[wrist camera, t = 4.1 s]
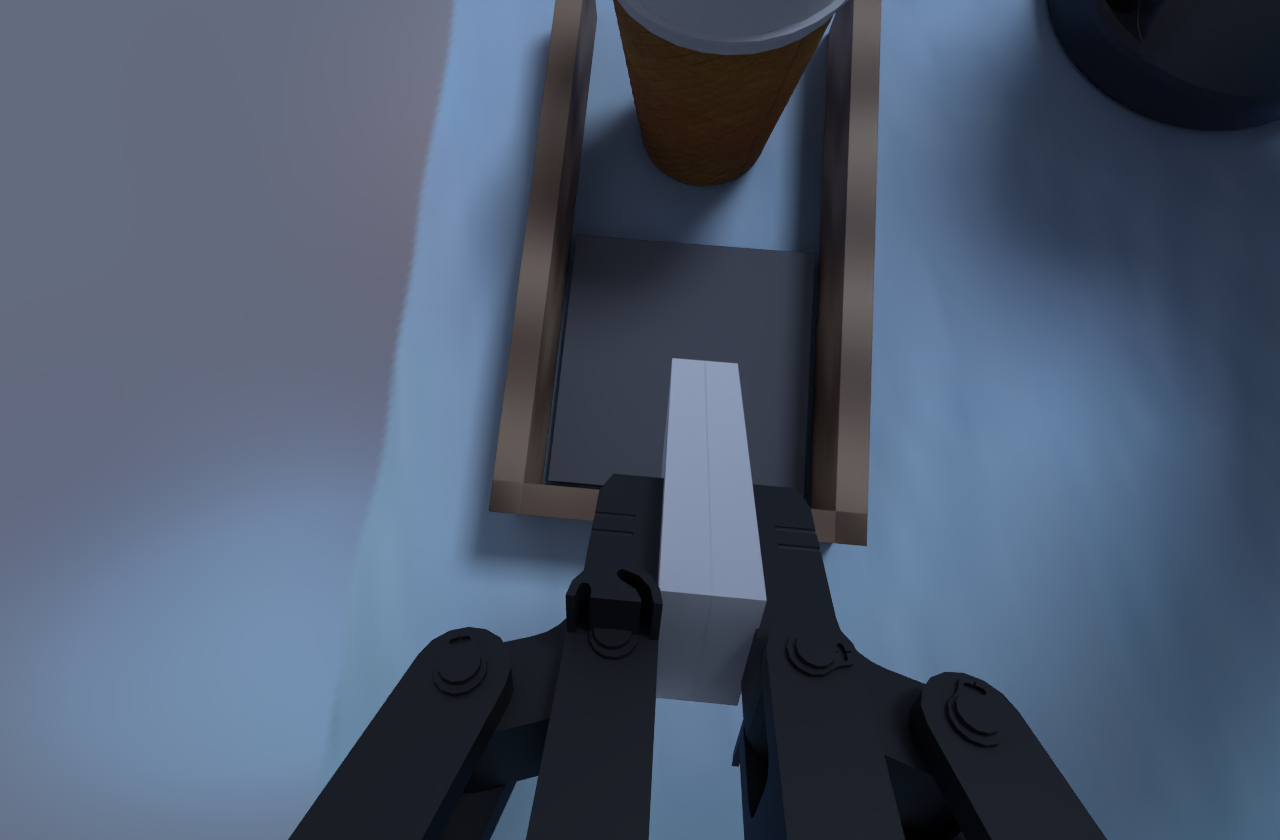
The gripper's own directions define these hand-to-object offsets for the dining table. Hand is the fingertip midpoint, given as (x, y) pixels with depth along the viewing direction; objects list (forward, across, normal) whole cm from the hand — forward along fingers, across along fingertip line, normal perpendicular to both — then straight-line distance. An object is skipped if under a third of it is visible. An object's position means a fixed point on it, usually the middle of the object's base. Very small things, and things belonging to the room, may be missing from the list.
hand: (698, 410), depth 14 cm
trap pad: (+12, 0, -6) cm, 14 cm away
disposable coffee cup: (+21, 0, +3) cm, 21 cm away
